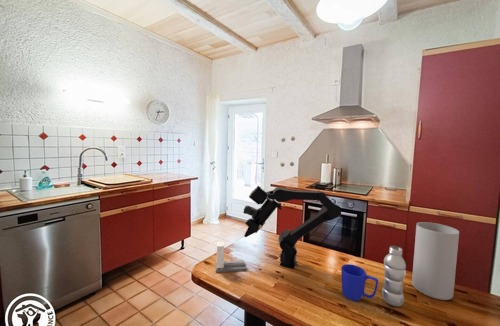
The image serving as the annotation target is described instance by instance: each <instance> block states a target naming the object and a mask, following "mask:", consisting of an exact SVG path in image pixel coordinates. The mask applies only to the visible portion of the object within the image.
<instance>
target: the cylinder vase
mask: <svg viewBox="0 0 500 326" xmlns="http://www.w3.org/2000/svg"><path fill="white" fill-rule="evenodd" d="M459 238H460V231H459V230H458V229H457V228H455V227H451V226H449V225H446V224H445V225H444V224H441V223H436V222H429V221H428V222H427V221H425V222H424V221H421V222H419V221H418V222H416V226H415V241H414V252H413V262H412V263H413V265H412V278H411V285H412V286H413V288H415V289H416V290H417V291H418V292H420V293H421V294H422V295H425V296H427V297H430V298H431V299H432V298H433V299H437V300H441V301H442V300H443V301H449V300H451V299H453V298H454V292H455V290H454V289H455V283H456V282H455V281H456V270H457V269H456V268H457V259H458V250H459V240H460V239H459Z"/></svg>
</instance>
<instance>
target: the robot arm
mask: <svg viewBox="0 0 500 326" xmlns="http://www.w3.org/2000/svg"><path fill="white" fill-rule="evenodd" d="M248 198H249V199H251V200H252V201H253V202H254V203H256V204H257V205H260V207H259V208H256V207H252V206H251V205H245V206H244V208H243V214H246V215H248V216H251V218H249V219H247V220H246V221H245V225H246V226H247V229H246V231H245V232H244V235H243V236H244V238H247V237H249V236H251V235H253V234H257V233H258V232H259V230H260V229H261V227H264V225H266V221H267V220H268V219H269V218H270V217H271V215H272V214H273V213H274V212H275V210H276V209H278V210H282V203H283V202H289V201H294V200H296V201H317V202H318V201H319V203H320V204H321V205H322V206H321V208H320V210H319V211H318V212H317V213H316V214H315V215H313V216H311V217H310V218H309V219H307V220H306V221H305V222H303V223H301V224H300V225H298V226H297V227H296V228H294V229H292V230H289V228H286V229H284V230H283V231H282V232H280V235H278V238H277V239H278V241H277V242H278V245H279V247H280V249H281V253H280V254H279V262H280V264H279V266H282V267H285V268H288V269H292V270H294V269H295V267H296V265H297V264H298V261H297V253H298V250H297V247H296V245H297V243H298V242H299V240H300V239H301V238H303V237H304V236H306V235H307V234H308V233H310V232H311V231H313V230H314V229H316V228H317V227H318V226H320V225H321V224H323V223H324V222H329V221H333V220H335V219H338V218H339V217H340V216H342V208H341V207H340V205H338V204H336V202H334V201H332V200H331V199H330V198H329V197H328V196H327V195H326V193H324V192H323V191H321V190H292V189H289V188H286V187H281V186H277V187H275V188H273V190H269V191H265V190H264V189H263V188H262V187H261V186H260V185H257V187H256V188H255V187H254V189H253V190H252V191H251V193H250V194H249V196H248Z"/></svg>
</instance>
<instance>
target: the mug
mask: <svg viewBox="0 0 500 326" xmlns="http://www.w3.org/2000/svg"><path fill="white" fill-rule="evenodd" d="M340 268H341V269H340V271H341V292H342V295H343V296H344V297H345V298H346V299H348V300H350V301H353V302H354V301H355V302H357V301H361V300H362V299H363V297H365V298H367V299H373V298H374V297H375V296H376V293H377V289H378V286H379V279H378V278H377V277H375V276H372V275H367V272H366V270H365V269H364V268H362V267H360V266H358V265H355V264H347V263H346V264H343V265H341V267H340ZM367 280H372V281H375V285H374V290H373V292H372V293H371V294H367V293H365V289H366V281H367Z"/></svg>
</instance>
